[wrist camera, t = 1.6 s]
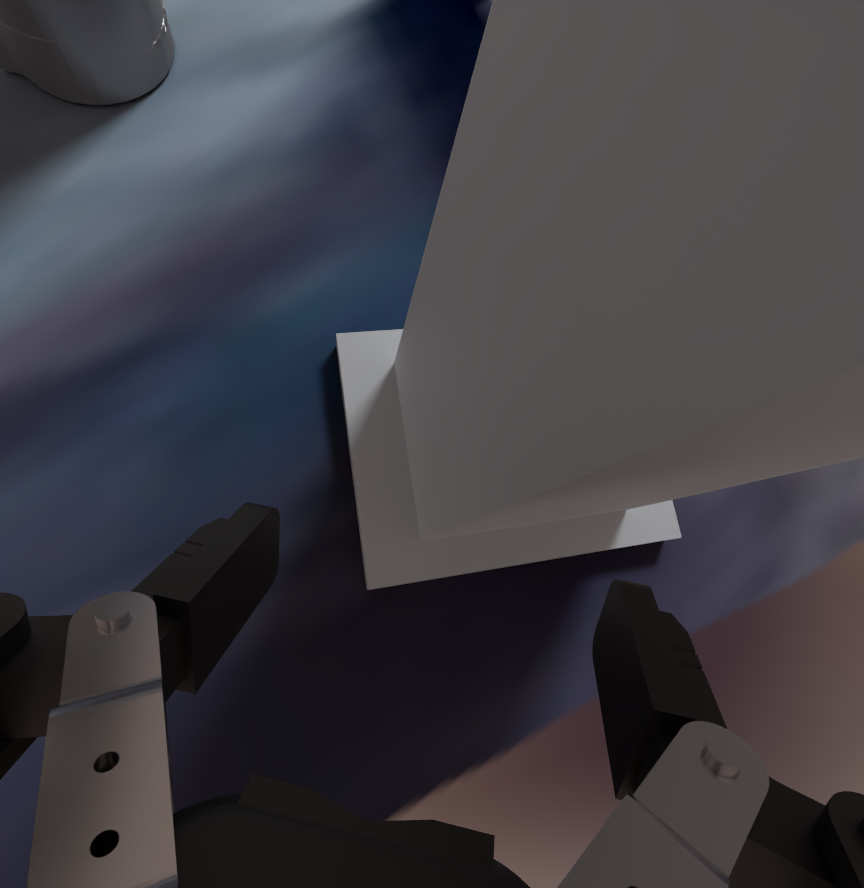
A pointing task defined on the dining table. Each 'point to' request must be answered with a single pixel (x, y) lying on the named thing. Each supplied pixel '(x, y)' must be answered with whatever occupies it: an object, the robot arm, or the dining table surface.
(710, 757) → the robot arm
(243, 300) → the dining table surface
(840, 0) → the white plinth column
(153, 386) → the dining table surface
